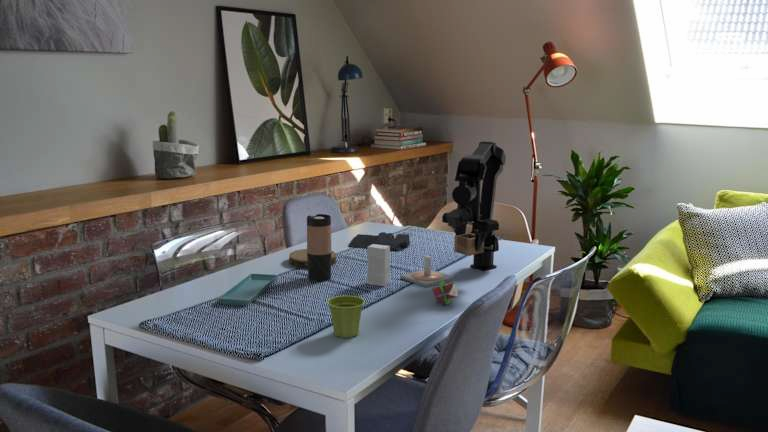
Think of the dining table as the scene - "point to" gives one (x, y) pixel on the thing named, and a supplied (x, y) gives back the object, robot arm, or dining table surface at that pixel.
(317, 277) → the travel mug
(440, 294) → the geometric puzzle
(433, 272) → the beige round peg stand
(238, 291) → the teal serving tray
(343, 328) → the plant pot
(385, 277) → the skincare box
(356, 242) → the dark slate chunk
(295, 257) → the round wooden board
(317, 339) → the dining table surface
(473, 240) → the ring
